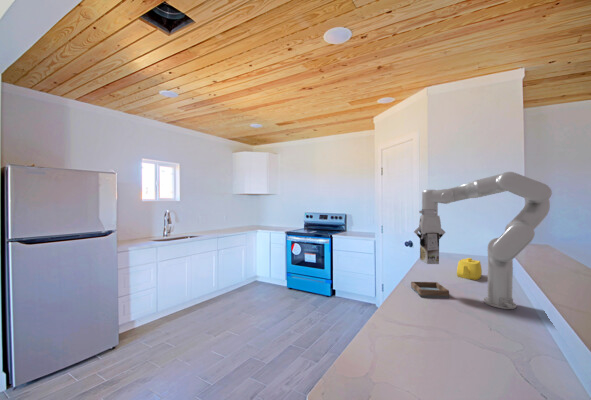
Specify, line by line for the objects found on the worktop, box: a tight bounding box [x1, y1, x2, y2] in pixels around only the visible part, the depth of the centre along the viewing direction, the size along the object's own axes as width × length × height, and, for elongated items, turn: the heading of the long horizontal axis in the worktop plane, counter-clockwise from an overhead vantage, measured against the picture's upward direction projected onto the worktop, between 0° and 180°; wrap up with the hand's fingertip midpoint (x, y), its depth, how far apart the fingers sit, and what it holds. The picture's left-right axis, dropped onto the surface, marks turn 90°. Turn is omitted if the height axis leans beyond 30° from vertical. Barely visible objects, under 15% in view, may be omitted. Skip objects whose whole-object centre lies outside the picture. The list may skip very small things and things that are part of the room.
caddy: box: [410, 281, 450, 299], centre depth 148 cm, size 14×14×4 cm
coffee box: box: [419, 232, 440, 265], centre depth 148 cm, size 9×6×16 cm
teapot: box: [456, 257, 483, 281], centre depth 176 cm, size 20×12×12 cm, turn 134°
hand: (429, 246), depth 147 cm, fingers closed on coffee box, 6 cm apart
